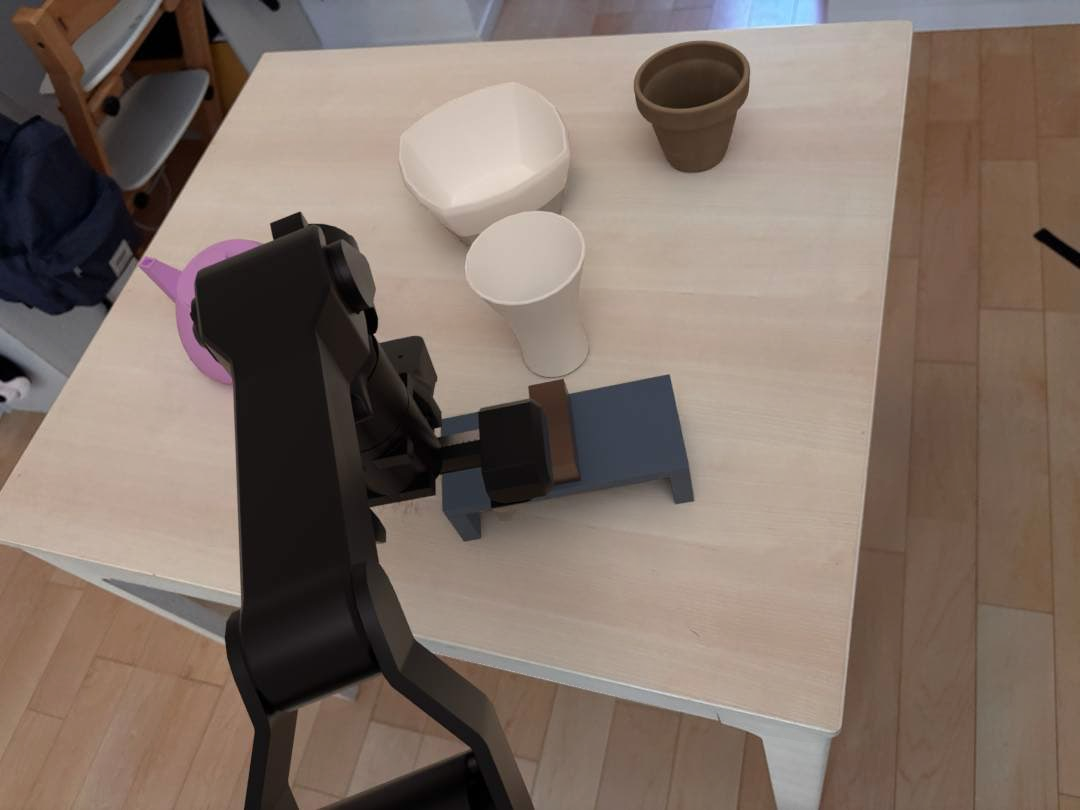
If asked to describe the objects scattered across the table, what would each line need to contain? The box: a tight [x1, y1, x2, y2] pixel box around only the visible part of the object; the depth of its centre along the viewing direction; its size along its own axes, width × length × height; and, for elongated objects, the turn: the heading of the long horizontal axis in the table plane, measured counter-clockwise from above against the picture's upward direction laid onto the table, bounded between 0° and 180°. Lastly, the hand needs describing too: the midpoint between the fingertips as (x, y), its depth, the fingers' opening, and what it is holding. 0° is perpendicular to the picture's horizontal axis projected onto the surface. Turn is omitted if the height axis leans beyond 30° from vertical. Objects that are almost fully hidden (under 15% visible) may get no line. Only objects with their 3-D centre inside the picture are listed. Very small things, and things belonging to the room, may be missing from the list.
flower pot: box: [633, 40, 751, 173], centre depth 90 cm, size 12×11×10 cm
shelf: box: [440, 373, 695, 542], centre depth 73 cm, size 9×20×6 cm, turn 95°
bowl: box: [397, 81, 572, 249], centre depth 92 cm, size 18×18×9 cm
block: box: [527, 378, 581, 485], centre depth 70 cm, size 8×3×3 cm, turn 5°
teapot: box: [137, 238, 264, 385], centre depth 89 cm, size 22×16×12 cm
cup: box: [463, 211, 590, 378], centre depth 78 cm, size 10×10×14 cm
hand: (444, 526), depth 62 cm, fingers open, 9 cm apart
